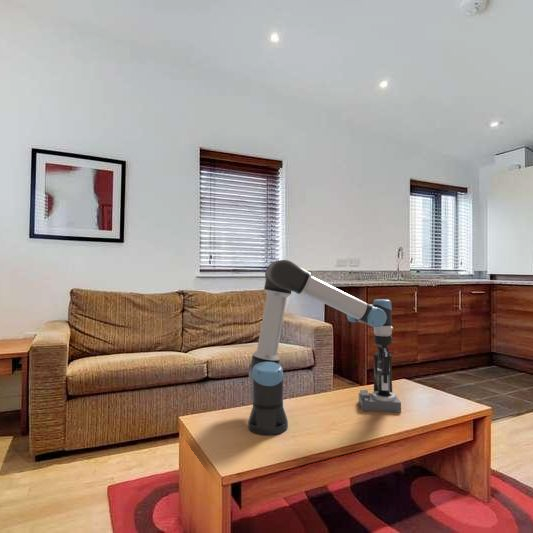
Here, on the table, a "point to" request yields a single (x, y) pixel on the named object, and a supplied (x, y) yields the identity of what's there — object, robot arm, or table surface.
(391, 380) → the container
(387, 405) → the camera body
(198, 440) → the table surface
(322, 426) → the table surface
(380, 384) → the lens
